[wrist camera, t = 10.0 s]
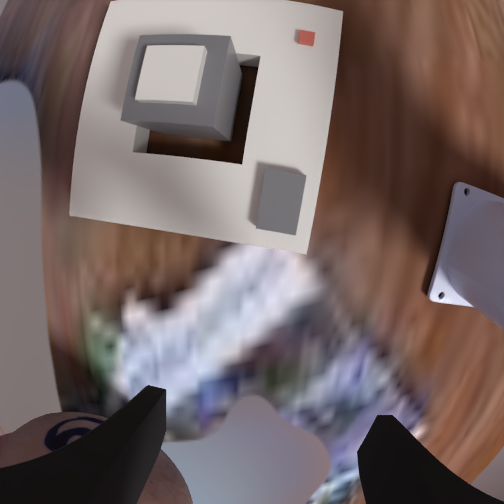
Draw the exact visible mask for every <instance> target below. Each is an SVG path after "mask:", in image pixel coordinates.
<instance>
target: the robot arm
mask: <svg viewBox="0 0 504 504" xmlns="http://www.w3.org/2000/svg"><path fill="white" fill-rule="evenodd" d="M465 188H466V190H467V193H466V195H465V194H464V190H465ZM441 292H442V295H441V296H440V297H438V295H439V293H441ZM427 295H428V298H429V299H430V300H431V301H433V302H440V303H447V304H455V305H462V306H470V307H475V308H476V309H478V310H479V311H480V312H481V313H483V314H484V315H485V316H487V317H488V318H489V319H490V320H492V321H493V322H494V323H495V324H497V325H498V326H499V327H500V328H502V329H503V330H504V198H501V197H499V196H497V195H494V194H492V193H489V192H487V191H484V190H482V189H479V188H476V187H474V186H471V185H468V184H466V183H463V182H456V183H455V184H454V186H453V190H452V196H451V202H450V207H449V212H448V217H447V221H446V226H445V230H444V235H443V239H442V243H441V247H440V251H439V255H438V259H437V262H436V266H435V270H434V273H433V277H432V280H431V283H430V287H429V290H428V294H427ZM165 432H166V389H162V388H158V387H154V386H150V385H148V386H146V387H145V388H144V389H143V390H142V391H140V392H139V393H138V394H137V395H136V396H135V397H134V398H133V399H132V400H130V401H129V402H128V403H127V404H126V405H125V406H123V407H122V408H121V409H120V410H118V411H117V412H116V413H115V414H113V415H112V416H111V417H109V418H108V419H107V420H105V421H104V422H103V423H101V424H100V425H98V426H97V427H95V428H94V429H92V430H91V431H89V432H88V433H86V434H85V435H83V436H81V437H80V438H78V439H76V440H75V441H73V442H71V443H69V444H67V445H65V446H63V447H61V448H59V449H57V450H55V451H52V452H50V453H48V454H45V455H43V456H40V457H38V458H35V459H32V460H29V461H25V462H22V463H18V464H15V465H11V466H7V467H2V468H0V504H137V502H138V500H139V497H140V495H141V493H142V491H143V488H144V486H145V484H146V482H147V480H148V477H149V475H150V473H151V471H152V468H153V466H154V464H155V462H156V459H157V457H158V455H159V452H160V449H161V446H162V442H163V439H164V435H165ZM357 455H358V467H359V475H360V480H361V484H362V488H363V493H364V497H365V501H366V504H504V502H503V501H500V500H498V499H496V498H494V497H492V496H489V495H487V494H485V493H484V492H482V491H480V490H478V489H476V488H474V487H473V486H471V485H470V484H468V483H467V482H465V481H464V480H463V479H461V478H460V477H458V476H457V475H456V474H454V473H453V472H452V471H450V470H449V469H448V468H447V467H446V466H444V465H443V464H442V463H441V462H440V461H439V460H438V459H436V458H435V457H434V456H433V455H432V454H431V453H430V452H429V451H428V450H427V449H426V448H425V447H424V446H423V445H422V444H421V443H420V442H419V441H418V440H417V439H416V438H415V437H414V436H413V435H412V434H411V433H410V432H409V431H408V430H407V429H406V428H405V427H404V426H403V425H402V424H401V423H400V422H399V421H398V420H397V419H396V418H395V417H394V416H393V415H377V417H376V419H375V421H374V423H373V424H372V426H371V428H370V430H369V432H368V434H367V435H366V437H365V439H364V441H363V443H362V444H361V446H360V448H359V450H358V451H357Z"/></svg>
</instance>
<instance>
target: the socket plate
mask: <svg viewBox="0 0 504 504" xmlns="http://www.w3.org/2000/svg"><path fill="white" fill-rule="evenodd" d="M342 19H343V11H339V10H335V9H331V8H326V7H322V6H317V5H312V4H306V3H300V2H294V1H288V0H118V1H111V2H110V5H109V8H108V11H107V14H106V17H105V19H104V22H103V26H102V29H101V32H100V35H99V38H98V42H97V45H96V49H95V52H94V56H93V60H92V63H91V67H90V71H89V75H88V80H87V84H86V89H85V93H84V98H83V103H82V108H81V114H80V119H79V125H78V132H77V138H76V146H75V153H74V162H73V171H72V182H71V195H70V213H69V215H70V216H76V217H82V218H89V219H95V220H101V221H107V222H114V223H120V224H126V225H132V226H138V227H144V228H151V229H157V230H163V231H169V232H175V233H181V234H187V235H193V236H199V237H205V238H211V239H217V240H223V241H229V242H235V243H241V244H247V245H253V246H259V247H265V248H271V249H277V250H283V251H289V252H294V253H300V254H306V253H307V248H308V243H309V238H310V233H311V228H312V223H313V218H314V213H315V207H316V202H317V196H318V191H319V185H320V180H321V174H322V168H323V162H324V156H325V150H326V144H327V137H328V131H329V124H330V117H331V110H332V103H333V96H334V89H335V81H336V73H337V65H338V56H339V48H340V38H341V29H342ZM160 34H202V35H223V36H231V39H232V42H233V45H234V49H235V52H236V55H237V59H238V62H239V65H243V66H252V67H259V68H258V73H257V79H256V85H255V90H254V96H253V102H252V108H251V114H250V119H249V125H248V131H247V137H246V143H245V149H244V156H243V162H242V165H241V164H234V163H227V162H220V161H212V160H204V159H196V158H188V157H178V156H169V155H159V154H148V153H146V152H147V146H148V139H149V133H150V130H149V129H146V128H143V127H140V126H136V125H133V124H130V123H127V122H124V121H120V120H121V114H122V109H123V104H124V99H125V94H126V89H127V84H128V80H129V75H130V71H131V67H132V63H133V59H134V55H135V51H136V47H137V44H138V40H139V36H140V35H160Z"/></svg>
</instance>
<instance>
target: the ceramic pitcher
mask: <svg viewBox="0 0 504 504" xmlns="http://www.w3.org/2000/svg"><path fill="white" fill-rule="evenodd" d="M107 419H108V418H107V417H103V416H99V415H97V414H88V413H81V412H60V413H51V414H46V415H43V416H41V417H38V418H35V419H33V420H31V421H30V422H28V423H26V424H24V425H23V426H22V427H20V428H18V429H17V430H16V431H14V432H12V433H9V434H5V435H2V436H0V468H2V467H7V466H11V465H15V464H18V463H22V462H25V461H29V460H32V459H35V458H38V457H40V456H43V455H45V454H48V453H50V452H52V451H55V450H57V449H59V448H61V447H63V446H65V445H67V444H69V443H71V442H73V441H75V440H76V439H78V438H80V437H81V436H83V435H85V434H86V433H88V432H89V431H91V430H92V429H94V428H95V427H97V426H98V425H100V424H101V423H103V422H104V421H105V420H107ZM137 504H193V502H192V499H191V495H190V492H189V489H188V486H187V484H186V482H185V480H184V478H183V476H182V475H181V473H180V471H179V470H178V469H177V467H176V465H175V464H174V463H173V462H172V460H171V459H170V458H169V457H168V456H167V455H166V454H165V453H164V452H163V451H162V450H161V449H160V452H159V455H158V457H157V459H156V462H155V464H154V466H153V468H152V471H151V473H150V475H149V477H148V480H147V482H146V484H145V486H144V488H143V491H142V493H141V495H140V497H139V500H138V502H137Z"/></svg>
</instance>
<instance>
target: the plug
mask: <svg viewBox="0 0 504 504" xmlns="http://www.w3.org/2000/svg"><path fill="white" fill-rule="evenodd" d="M242 80H243V75H242V72H241V69H240V65H239V62H238V59H237V55H236V52H235V49H234V45H233V42H232V39H231V36H223V35H202V34H160V35H140V36H139V40H138V44H137V47H136V51H135V55H134V59H133V63H132V67H131V71H130V75H129V80H128V84H127V89H126V94H125V99H124V104H123V109H122V114H121V120H120V121H124V122H127V123H130V124H133V125H136V126H140V127H143V128H146V129H149V130H152V131H155V132H158V133H161V134H164V135H171V136H183V137H193V138H202V139H211V140H219V141H227V142H232V137H233V131H234V126H235V120H236V114H237V108H238V103H239V97H240V91H241V86H242Z"/></svg>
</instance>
